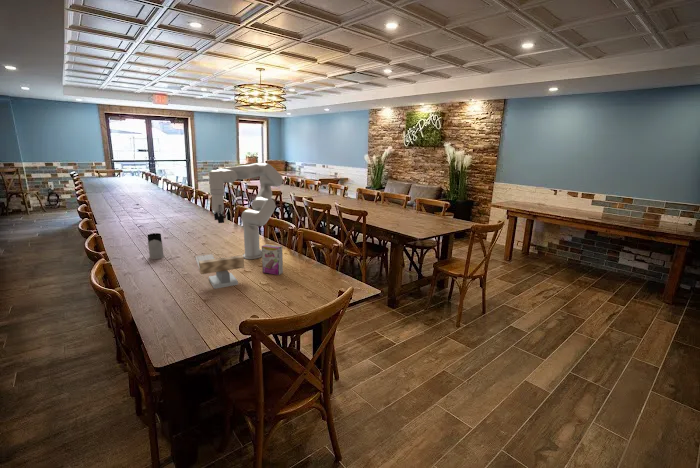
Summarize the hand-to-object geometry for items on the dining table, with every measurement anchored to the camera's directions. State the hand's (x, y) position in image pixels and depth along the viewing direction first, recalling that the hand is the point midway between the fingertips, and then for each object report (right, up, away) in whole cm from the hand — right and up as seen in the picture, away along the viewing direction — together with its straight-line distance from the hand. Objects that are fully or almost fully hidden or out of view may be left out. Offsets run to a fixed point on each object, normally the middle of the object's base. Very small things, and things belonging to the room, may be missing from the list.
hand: (219, 221), depth 201 cm
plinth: (+8, -33, -16) cm, 38 cm away
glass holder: (-50, -22, +24) cm, 60 cm away
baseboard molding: (-13, -27, +12) cm, 32 cm away
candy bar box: (+32, -30, -1) cm, 44 cm away
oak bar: (+9, -27, -18) cm, 33 cm away
